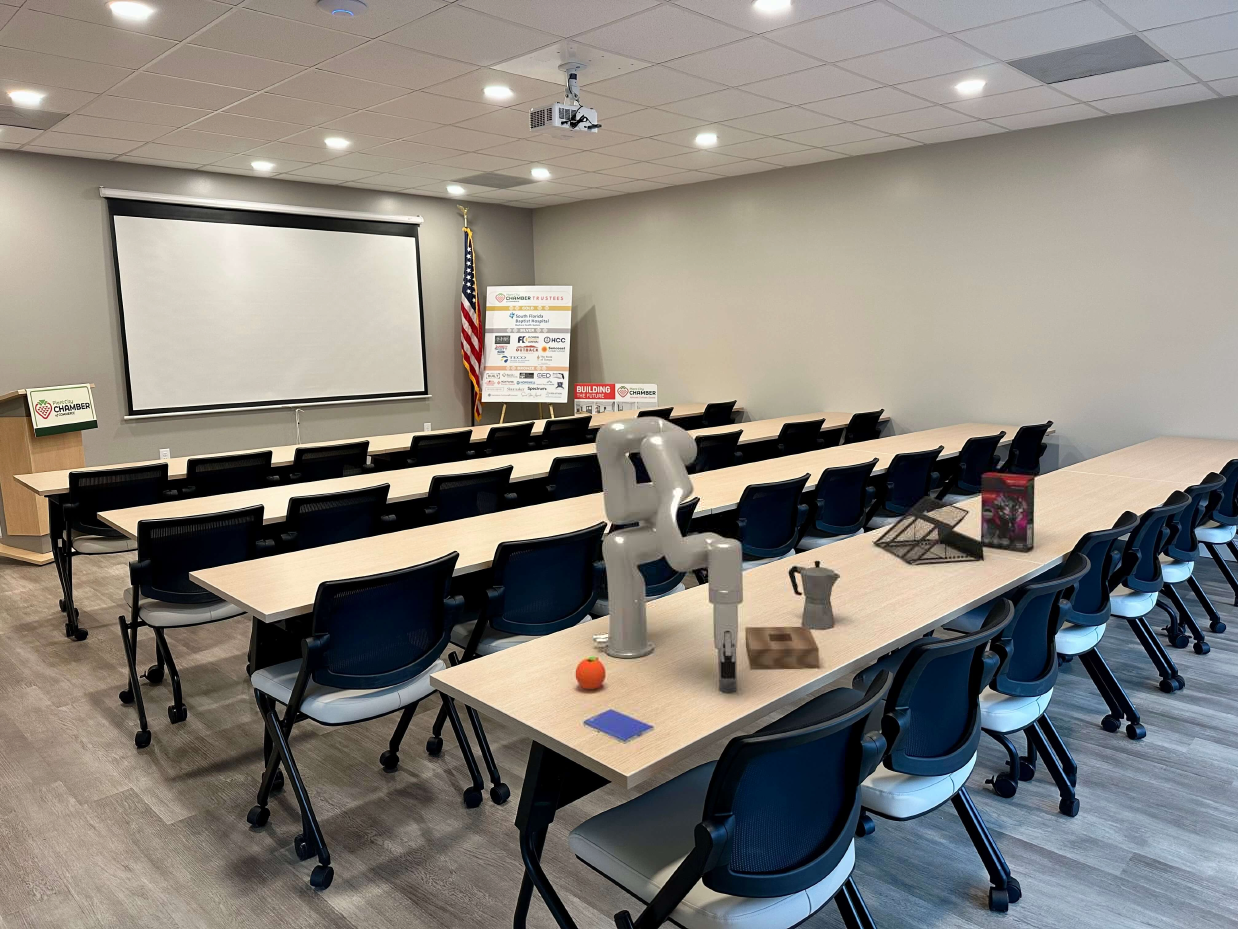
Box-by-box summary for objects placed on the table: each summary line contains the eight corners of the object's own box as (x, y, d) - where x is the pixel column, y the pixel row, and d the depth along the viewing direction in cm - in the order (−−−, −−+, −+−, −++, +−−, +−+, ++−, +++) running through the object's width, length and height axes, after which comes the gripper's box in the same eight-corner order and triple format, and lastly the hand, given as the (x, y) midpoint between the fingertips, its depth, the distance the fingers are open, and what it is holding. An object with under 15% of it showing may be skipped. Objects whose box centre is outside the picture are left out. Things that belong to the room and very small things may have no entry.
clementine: (585, 679, 197) (584, 650, 196) (612, 682, 194) (611, 653, 193) (570, 692, 190) (569, 662, 189) (598, 695, 187) (597, 665, 186)
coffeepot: (848, 624, 228) (847, 560, 226) (832, 634, 221) (831, 567, 219) (797, 614, 238) (797, 553, 236) (780, 623, 231) (779, 560, 229)
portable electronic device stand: (870, 546, 319) (870, 498, 317) (940, 541, 322) (941, 494, 319) (908, 567, 287) (909, 515, 284) (986, 562, 289) (987, 510, 287)
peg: (719, 693, 186) (718, 641, 184) (718, 686, 190) (717, 635, 188) (737, 693, 185) (736, 641, 184) (736, 686, 189) (735, 635, 188)
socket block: (750, 669, 199) (750, 649, 198) (745, 646, 215) (745, 627, 214) (818, 668, 198) (818, 648, 197) (808, 645, 213) (808, 626, 213)
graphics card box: (979, 546, 309) (980, 474, 306) (987, 543, 314) (988, 471, 310) (1026, 553, 297) (1028, 477, 293) (1034, 550, 301) (1036, 475, 298)
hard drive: (583, 720, 172) (624, 739, 163) (611, 708, 178) (653, 725, 169) (583, 728, 172) (625, 746, 163) (612, 715, 178) (654, 732, 169)
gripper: (707, 584, 193) (709, 660, 196) (709, 606, 177) (712, 689, 179) (740, 584, 193) (741, 660, 195) (745, 606, 176) (747, 688, 178)
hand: (727, 673), depth 187 cm, fingers closed on peg, 4 cm apart
